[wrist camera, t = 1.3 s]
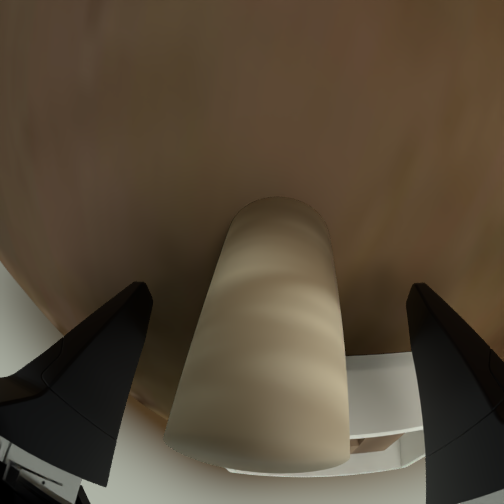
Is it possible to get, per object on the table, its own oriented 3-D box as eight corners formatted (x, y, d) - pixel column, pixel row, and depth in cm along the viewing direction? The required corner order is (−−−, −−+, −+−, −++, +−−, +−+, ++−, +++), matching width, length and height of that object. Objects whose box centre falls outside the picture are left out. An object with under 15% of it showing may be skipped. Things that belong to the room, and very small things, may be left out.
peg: (332, 196, 10) (372, 435, 3) (326, 281, 12) (334, 473, 6) (220, 198, 10) (131, 415, 4) (235, 280, 13) (192, 463, 6)
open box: (473, 343, 14) (493, 406, 10) (402, 426, 23) (405, 467, 19) (200, 351, 17) (180, 425, 13) (237, 430, 26) (230, 472, 22)
